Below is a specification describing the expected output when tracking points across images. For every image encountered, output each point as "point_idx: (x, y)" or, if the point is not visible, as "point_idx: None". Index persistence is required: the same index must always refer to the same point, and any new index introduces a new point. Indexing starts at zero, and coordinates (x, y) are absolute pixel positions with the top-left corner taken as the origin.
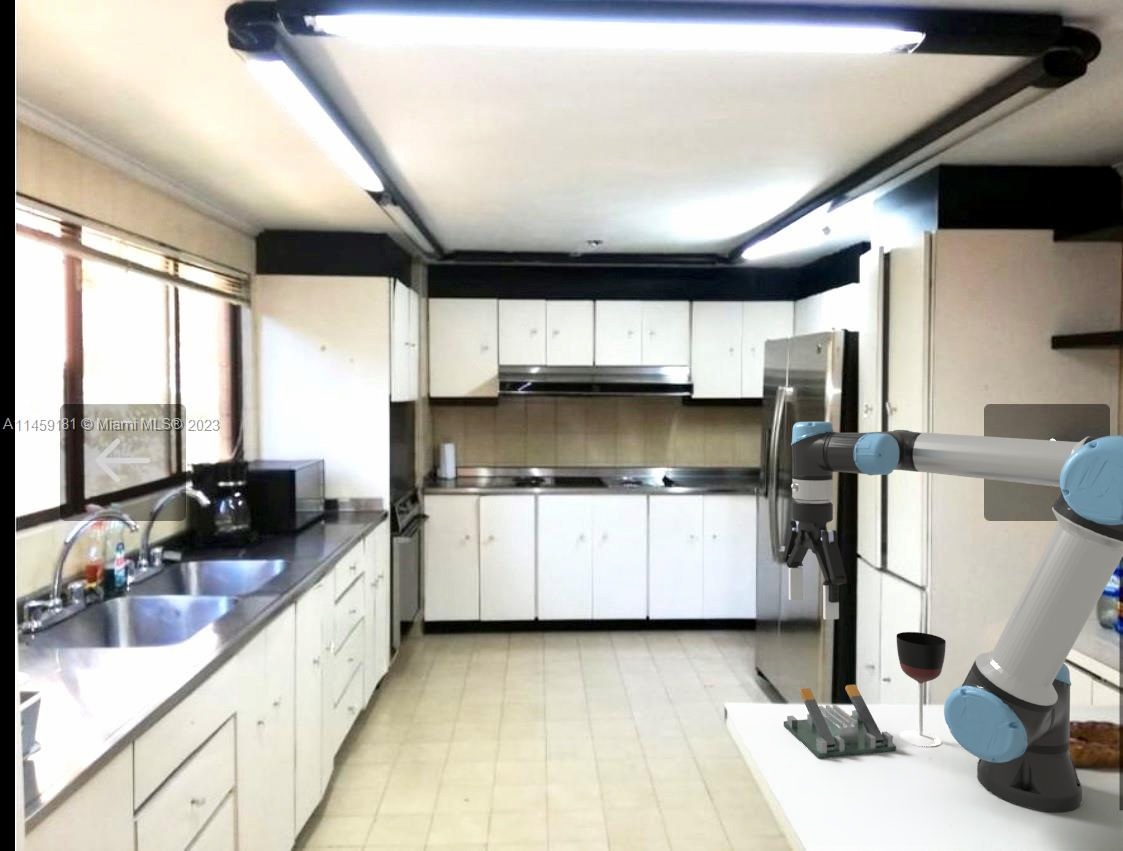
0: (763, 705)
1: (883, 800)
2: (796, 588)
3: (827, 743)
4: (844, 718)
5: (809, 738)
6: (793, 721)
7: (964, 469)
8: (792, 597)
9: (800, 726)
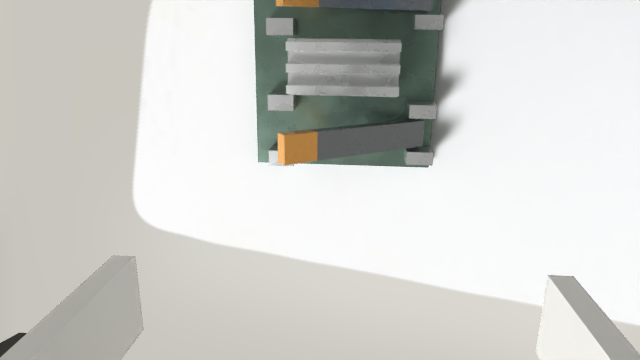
0: (141, 150)
1: (623, 127)
2: (102, 336)
3: (420, 141)
4: (377, 69)
5: None
6: None
7: None
8: (133, 327)
9: None
